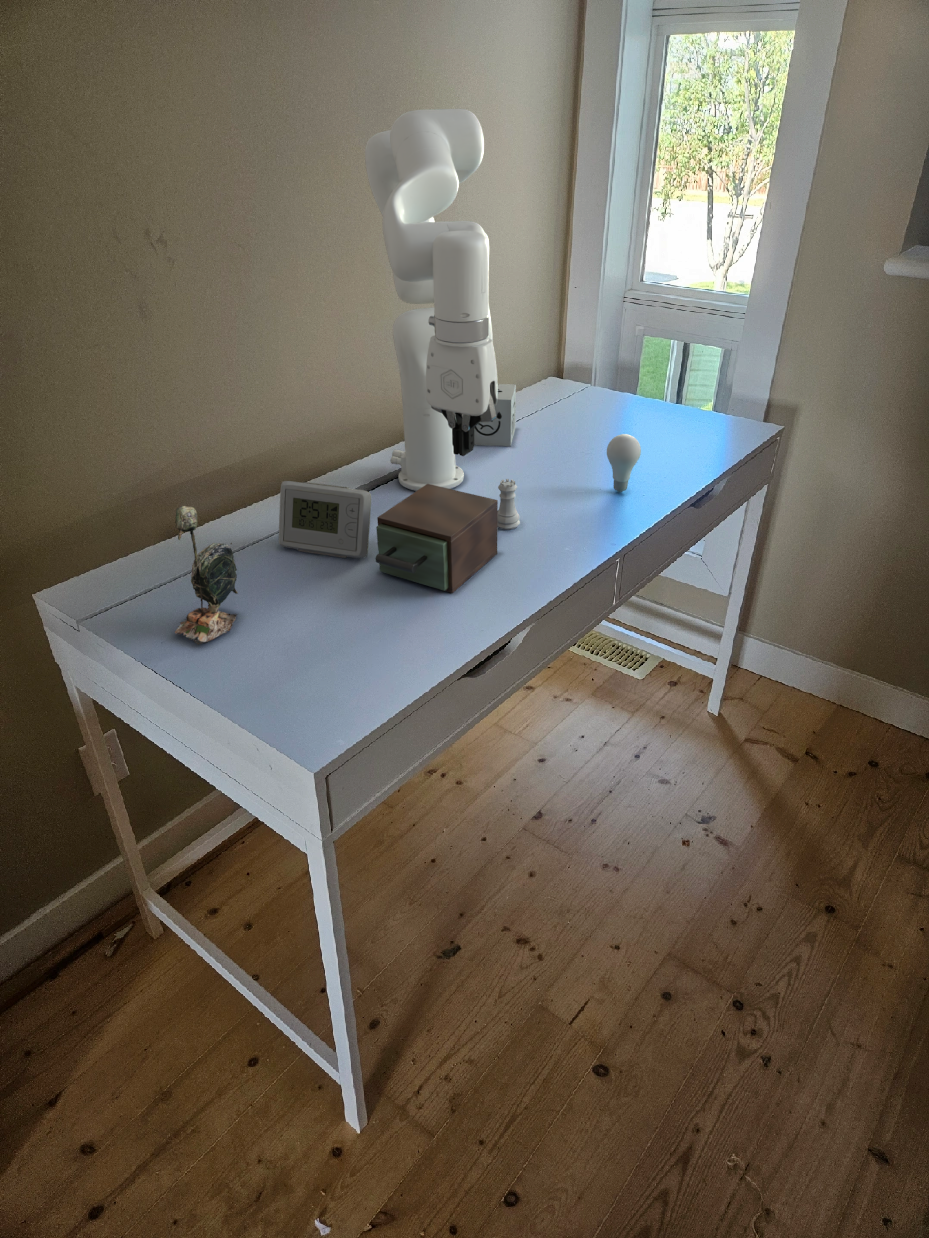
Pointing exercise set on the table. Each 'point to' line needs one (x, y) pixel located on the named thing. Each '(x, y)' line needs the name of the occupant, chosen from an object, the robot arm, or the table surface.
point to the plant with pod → (207, 583)
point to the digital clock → (324, 519)
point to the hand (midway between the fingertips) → (463, 452)
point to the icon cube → (499, 420)
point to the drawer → (413, 556)
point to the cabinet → (451, 526)
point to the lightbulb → (623, 459)
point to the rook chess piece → (507, 506)
